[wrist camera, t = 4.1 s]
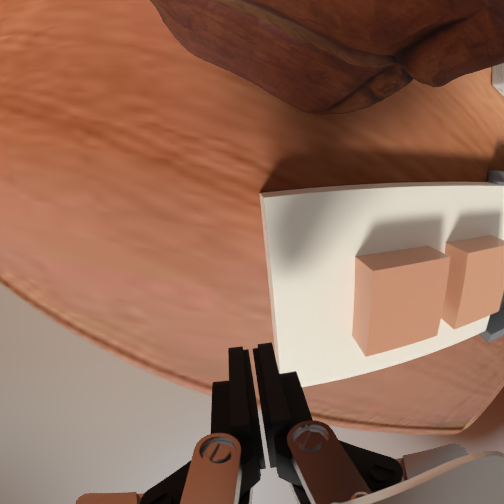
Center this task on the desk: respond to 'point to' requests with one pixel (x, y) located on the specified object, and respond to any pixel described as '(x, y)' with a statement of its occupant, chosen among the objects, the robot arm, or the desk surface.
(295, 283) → the board
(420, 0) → the wooden figurine
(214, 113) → the desk surface
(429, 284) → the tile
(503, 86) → the supplement box
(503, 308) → the tray
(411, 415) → the desk surface
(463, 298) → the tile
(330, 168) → the desk surface
